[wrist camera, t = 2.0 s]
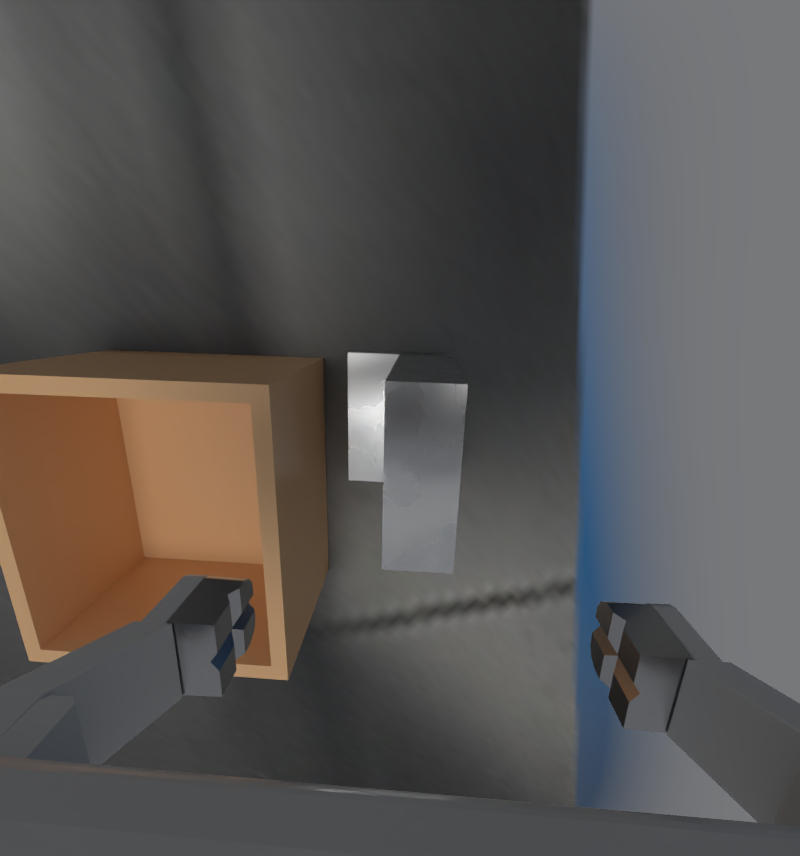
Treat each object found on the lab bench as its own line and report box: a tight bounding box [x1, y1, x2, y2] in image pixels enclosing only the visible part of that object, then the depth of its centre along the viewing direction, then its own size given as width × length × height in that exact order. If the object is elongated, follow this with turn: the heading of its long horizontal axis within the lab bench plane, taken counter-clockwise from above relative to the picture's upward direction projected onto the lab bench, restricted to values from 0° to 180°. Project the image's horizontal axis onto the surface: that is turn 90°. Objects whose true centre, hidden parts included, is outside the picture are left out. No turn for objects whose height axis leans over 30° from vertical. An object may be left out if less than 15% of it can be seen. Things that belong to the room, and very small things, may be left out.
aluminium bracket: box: [348, 351, 468, 574], centre depth 21 cm, size 8×6×10 cm
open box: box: [0, 350, 329, 680], centre depth 23 cm, size 15×14×9 cm
